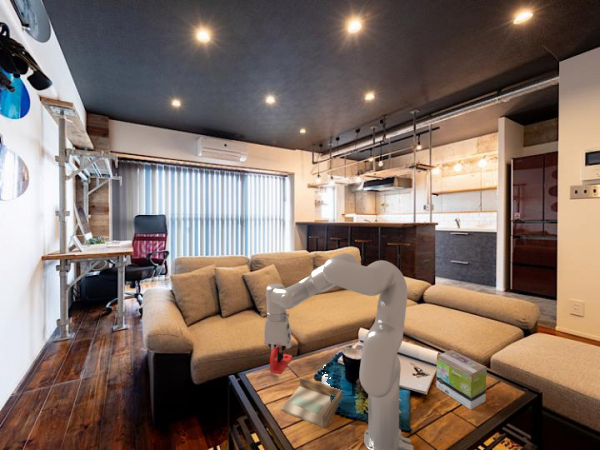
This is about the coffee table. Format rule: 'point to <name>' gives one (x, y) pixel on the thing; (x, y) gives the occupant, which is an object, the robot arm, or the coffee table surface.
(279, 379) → the coffee table surface
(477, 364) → the tea box
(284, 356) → the bracket
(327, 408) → the tray
